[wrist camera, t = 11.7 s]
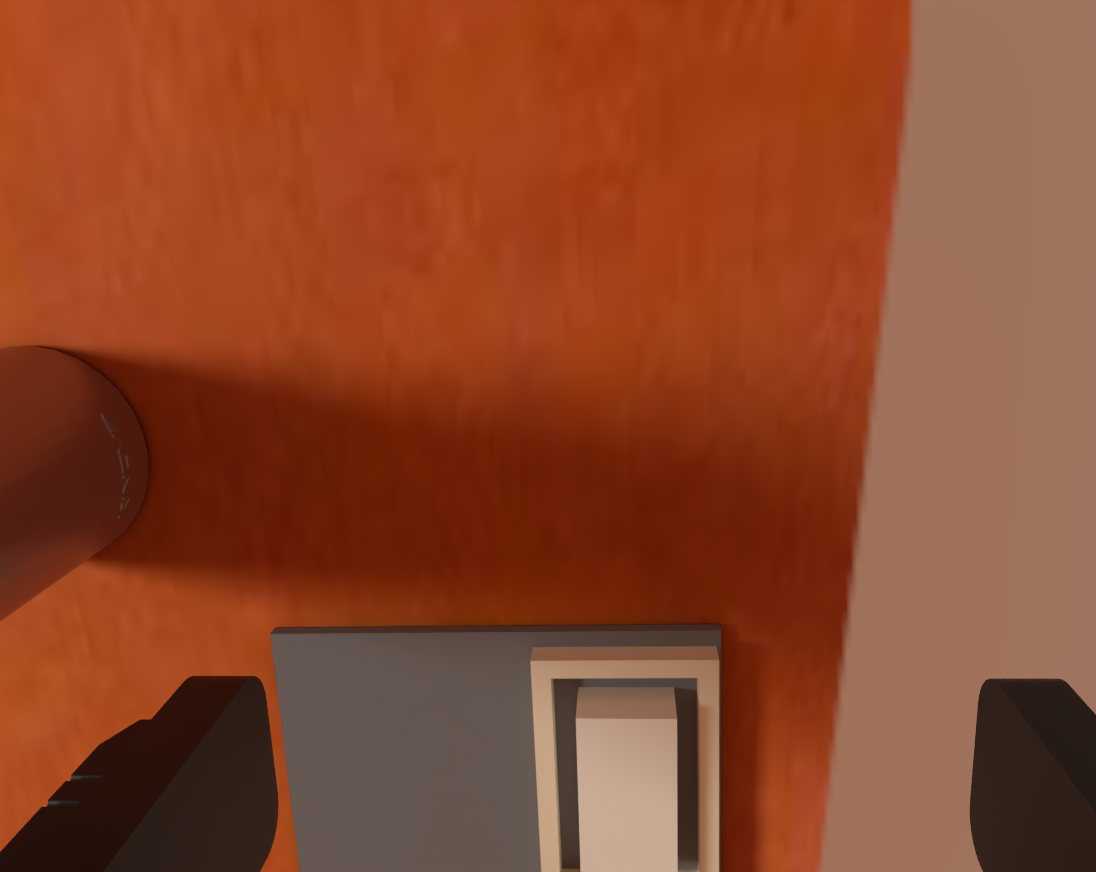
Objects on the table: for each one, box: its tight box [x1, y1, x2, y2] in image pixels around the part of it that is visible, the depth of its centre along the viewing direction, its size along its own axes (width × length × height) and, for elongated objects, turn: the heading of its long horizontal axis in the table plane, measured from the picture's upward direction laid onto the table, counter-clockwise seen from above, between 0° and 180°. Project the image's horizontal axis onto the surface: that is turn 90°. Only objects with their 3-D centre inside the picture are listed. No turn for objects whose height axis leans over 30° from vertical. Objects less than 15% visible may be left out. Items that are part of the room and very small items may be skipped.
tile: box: [576, 687, 678, 872], centre depth 41 cm, size 8×4×2 cm, turn 2°
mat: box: [270, 624, 721, 872], centre depth 43 cm, size 19×17×2 cm
